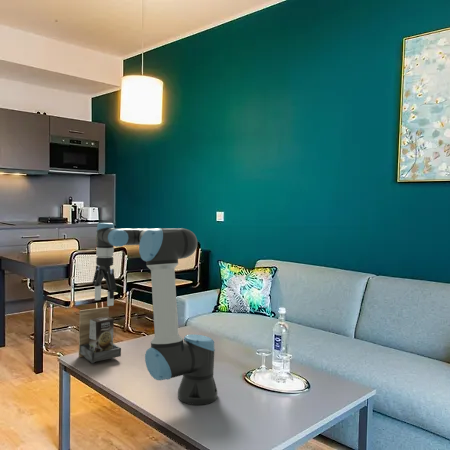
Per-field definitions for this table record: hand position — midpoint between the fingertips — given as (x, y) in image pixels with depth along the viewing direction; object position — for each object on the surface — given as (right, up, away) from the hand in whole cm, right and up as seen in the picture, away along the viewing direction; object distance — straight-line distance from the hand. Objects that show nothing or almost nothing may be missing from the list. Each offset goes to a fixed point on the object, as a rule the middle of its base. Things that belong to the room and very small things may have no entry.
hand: (103, 302), depth 202 cm
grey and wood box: (-3, -26, +2) cm, 27 cm away
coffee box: (-2, -24, +1) cm, 24 cm away
